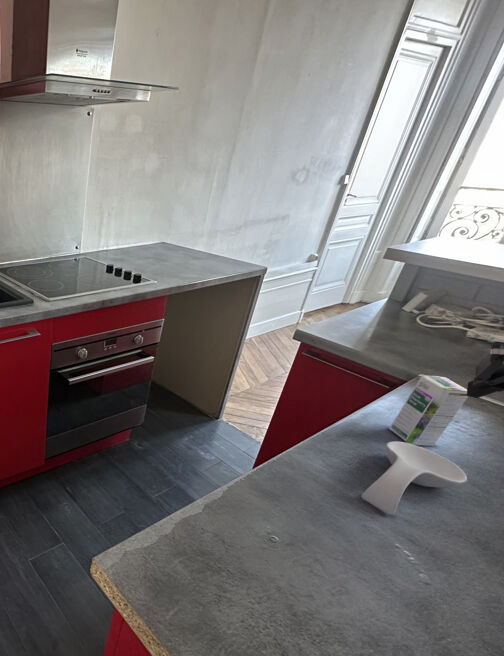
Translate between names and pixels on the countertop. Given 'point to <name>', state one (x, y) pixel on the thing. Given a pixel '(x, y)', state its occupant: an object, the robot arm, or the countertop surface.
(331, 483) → the countertop surface
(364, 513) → the countertop surface
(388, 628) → the countertop surface
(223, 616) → the countertop surface
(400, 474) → the spoon rest
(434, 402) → the syrup box
